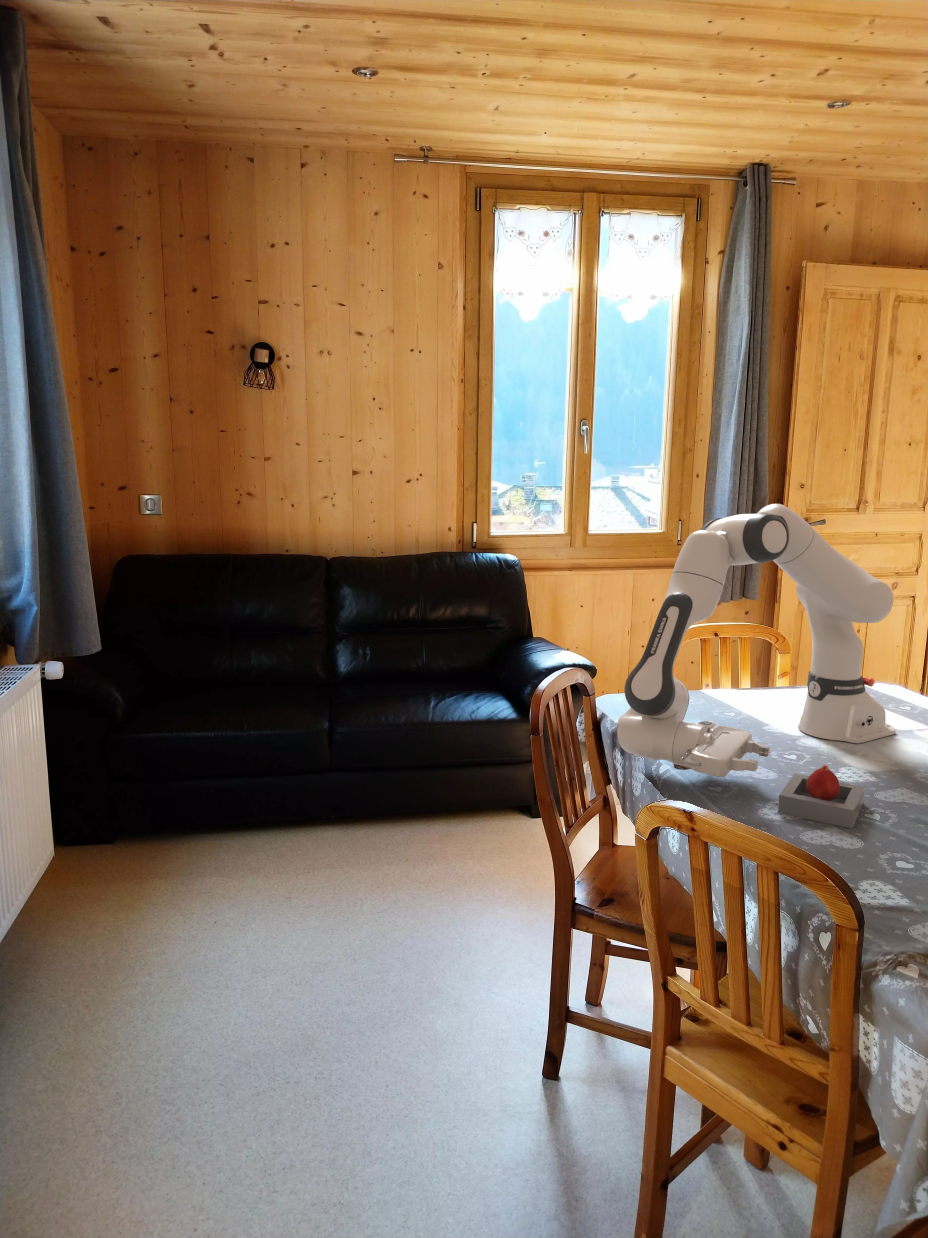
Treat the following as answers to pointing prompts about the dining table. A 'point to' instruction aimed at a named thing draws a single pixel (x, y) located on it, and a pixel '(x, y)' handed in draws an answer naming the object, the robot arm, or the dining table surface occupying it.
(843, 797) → the holder
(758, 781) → the dining table surface
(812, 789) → the red round fruit
